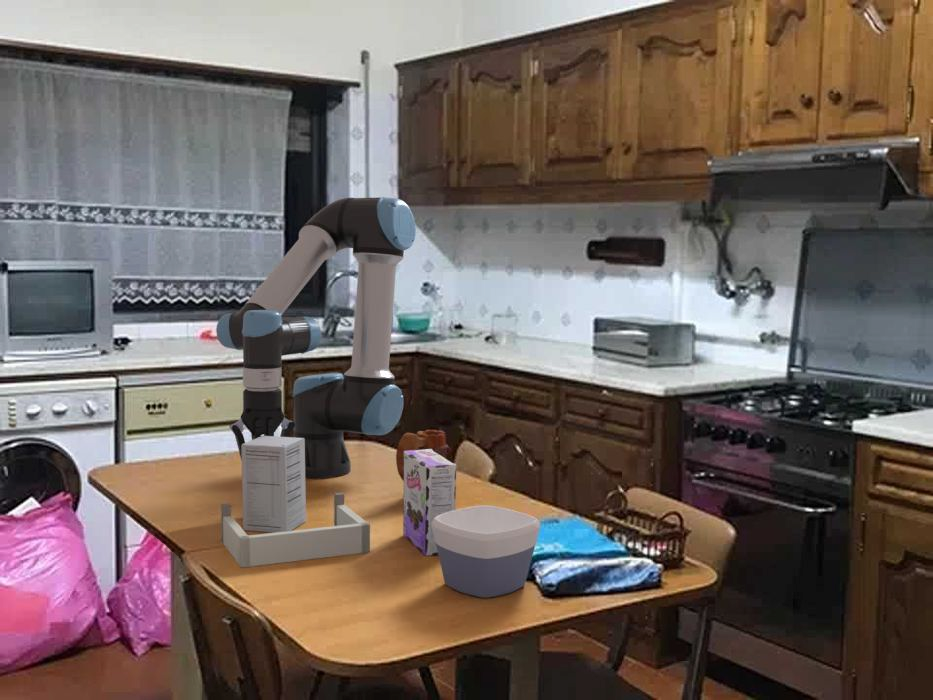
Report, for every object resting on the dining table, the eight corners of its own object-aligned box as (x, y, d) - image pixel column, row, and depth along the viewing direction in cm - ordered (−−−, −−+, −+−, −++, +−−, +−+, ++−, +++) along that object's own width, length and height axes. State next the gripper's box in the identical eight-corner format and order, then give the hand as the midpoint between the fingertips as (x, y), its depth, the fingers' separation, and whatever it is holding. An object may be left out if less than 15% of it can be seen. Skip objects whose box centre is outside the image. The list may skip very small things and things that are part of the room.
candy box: (401, 535, 197) (402, 449, 195) (431, 532, 199) (432, 447, 197) (424, 556, 184) (425, 465, 182) (456, 553, 186) (457, 463, 184)
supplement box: (307, 521, 205) (307, 437, 203) (287, 534, 196) (286, 446, 194) (263, 517, 207) (262, 434, 205) (241, 530, 199) (240, 443, 197)
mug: (430, 489, 231) (430, 423, 230) (458, 496, 226) (459, 428, 224) (384, 502, 220) (384, 432, 218) (412, 509, 215) (413, 437, 213)
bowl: (418, 584, 170) (418, 517, 169) (484, 564, 181) (485, 501, 179) (485, 609, 159) (486, 538, 158) (551, 586, 170) (553, 519, 168)
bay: (221, 541, 191) (221, 503, 190) (341, 527, 201) (341, 492, 200) (241, 567, 177) (240, 527, 176) (369, 551, 186) (370, 513, 185)
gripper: (233, 392, 200) (234, 512, 203) (299, 389, 206) (299, 506, 208) (225, 387, 207) (226, 503, 210) (289, 384, 212) (290, 497, 215)
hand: (262, 504), depth 209 cm, fingers closed
